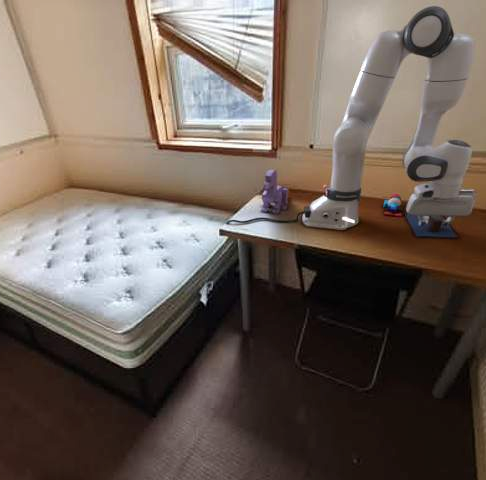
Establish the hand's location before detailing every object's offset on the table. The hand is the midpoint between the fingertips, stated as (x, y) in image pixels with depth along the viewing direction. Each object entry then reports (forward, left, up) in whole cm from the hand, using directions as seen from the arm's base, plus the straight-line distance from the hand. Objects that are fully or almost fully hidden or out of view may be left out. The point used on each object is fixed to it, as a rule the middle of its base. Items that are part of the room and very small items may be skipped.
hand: (433, 225), depth 123 cm
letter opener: (0, +3, -1) cm, 4 cm away
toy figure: (-10, +19, -2) cm, 21 cm away
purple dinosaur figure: (-60, +20, -2) cm, 63 cm away
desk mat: (0, +4, -2) cm, 4 cm away
